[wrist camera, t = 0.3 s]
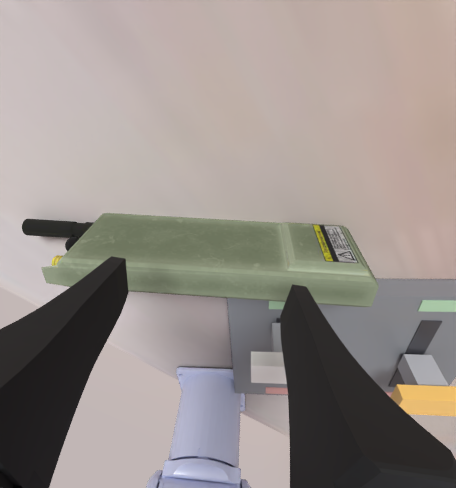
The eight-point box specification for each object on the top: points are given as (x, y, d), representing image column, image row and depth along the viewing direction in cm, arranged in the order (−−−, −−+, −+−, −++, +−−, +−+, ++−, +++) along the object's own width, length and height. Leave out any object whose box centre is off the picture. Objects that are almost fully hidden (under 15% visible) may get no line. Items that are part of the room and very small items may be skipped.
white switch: (318, 339, 26) (328, 385, 22) (251, 338, 26) (251, 382, 23) (321, 322, 24) (333, 368, 21) (251, 320, 25) (250, 365, 22)
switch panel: (428, 383, 33) (437, 402, 31) (235, 376, 35) (234, 393, 33) (496, 279, 23) (515, 298, 22) (228, 278, 25) (226, 295, 24)
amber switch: (443, 369, 27) (470, 416, 24) (377, 367, 28) (394, 413, 24) (453, 354, 26) (484, 402, 22) (383, 352, 26) (403, 399, 23)
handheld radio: (339, 254, 24) (43, 236, 25) (350, 219, 22) (30, 201, 23) (367, 316, 18) (-18, 290, 19) (384, 276, 16) (-42, 249, 17)
